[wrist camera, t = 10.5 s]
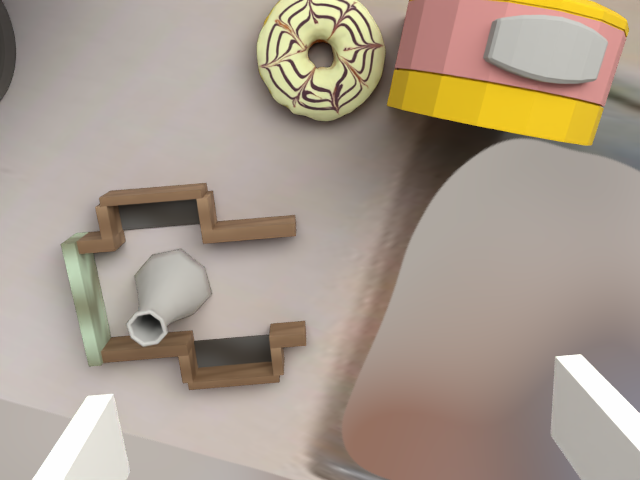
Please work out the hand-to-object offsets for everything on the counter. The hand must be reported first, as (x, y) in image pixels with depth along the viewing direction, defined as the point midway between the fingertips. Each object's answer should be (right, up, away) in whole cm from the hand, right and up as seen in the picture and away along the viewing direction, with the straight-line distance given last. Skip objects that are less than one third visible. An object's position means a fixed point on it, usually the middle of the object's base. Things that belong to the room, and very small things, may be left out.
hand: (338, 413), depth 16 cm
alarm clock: (+12, +21, +33) cm, 41 cm away
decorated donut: (-1, +22, +32) cm, 39 cm away
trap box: (-13, +1, +38) cm, 40 cm away
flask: (-15, +1, +38) cm, 41 cm away
